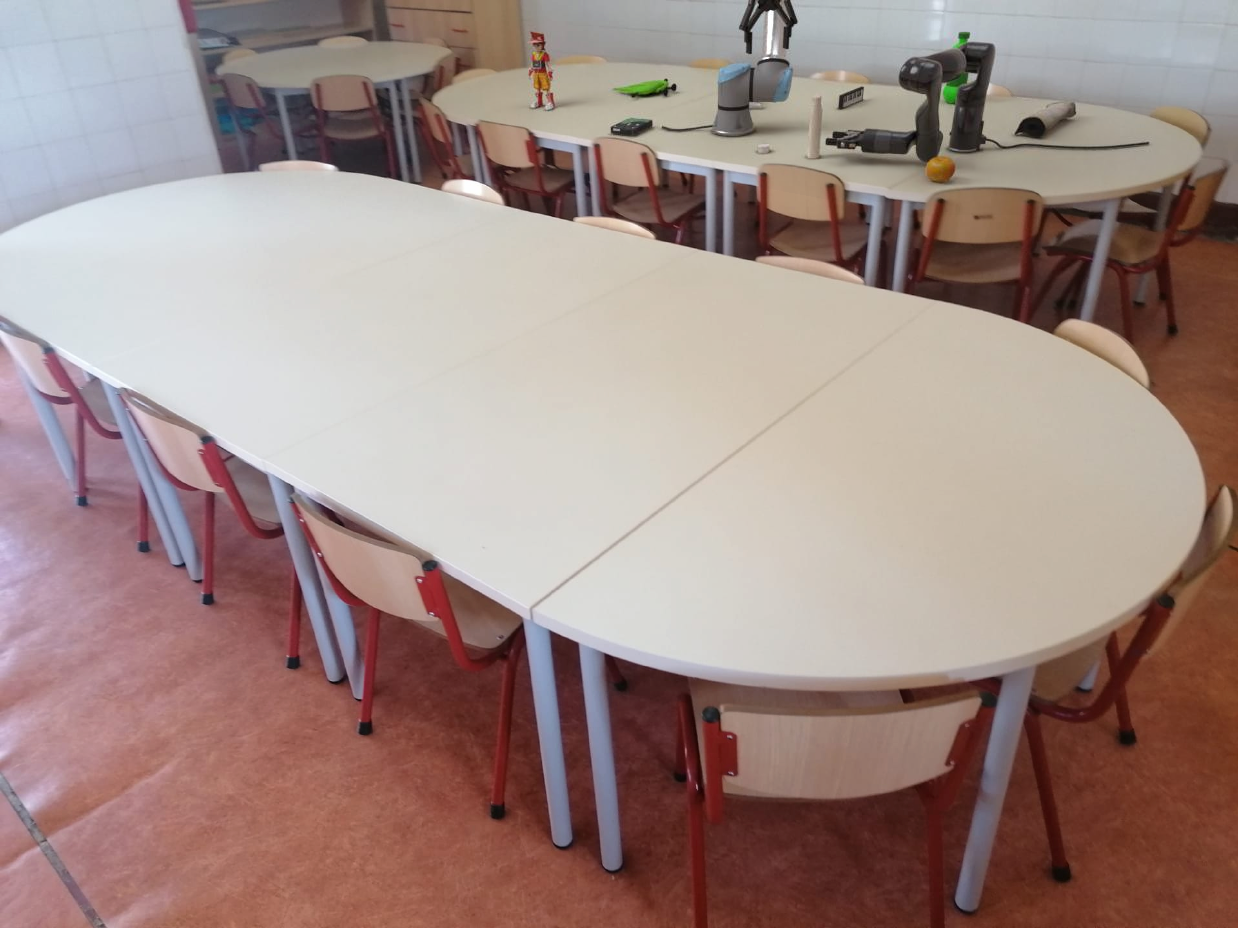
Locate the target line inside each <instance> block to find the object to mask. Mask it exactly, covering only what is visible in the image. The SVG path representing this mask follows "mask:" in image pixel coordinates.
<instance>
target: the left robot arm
mask: <svg viewBox="0 0 1238 928" xmlns="http://www.w3.org/2000/svg"><path fill="white" fill-rule="evenodd" d="M757 4H758V5H757ZM756 5H757V6H756ZM755 6H756V8H755ZM762 14H764V20H763V35H762V36H763V38H762V48H761V49H762V52H761V58H759V60H757V63H756V67H752V65H751V63H750V62H736V63H731V64H728V65H725V66H722V67H721V68H720V69H719V70H718V75H717V111H716V114H715V118H714V120H713V124H710V125H709V124H708V125H700V126H695V127H686V128H671V127H667V126H664V125H662V126H661V129H664V130H668V131H671V132H687V131H694V130H701V129H709V128H712V133H713V134H715V135H717V136H721V137H741V136H746V135H750V134H752V133H754V127H755V123H754V121H753V118H752V115H751V111H750V109H749V102H756V103H784V102H786V101H787V100H788V98H789V96H790V92H791V89H792V84H793V83H792V81H793V75H794V67H792V66H790V64H791V63H790V61H789V59H788V58H787V50H789V49H790V38H792V36H793V35H792V33H793V28H794V26H795V25H797V24H798V23H799V21H798V18H797V15H796V11H795V10H794V7H793V4H792V0H748V2H747V6H746V8H745V11H744V14H743V16H742V18H741V21H740V23H739V27H738V30H740V31H742V32H744V33H743V37H744V38H743V42H744V43H745V45H746V46H745V54H747V55H752V54H753V31H752V30H753V28H754V26H755V25H756V23H757V22H758V20H759V19H760V17H761V16H762Z"/></svg>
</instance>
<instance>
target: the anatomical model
mask: <svg viewBox="0 0 1238 928" xmlns="http://www.w3.org/2000/svg"><path fill="white" fill-rule="evenodd" d="M762 107H763V104H762V103H758V102H749V110H751V109H755V108H762Z"/></svg>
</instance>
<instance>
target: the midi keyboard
mask: <svg viewBox="0 0 1238 928" xmlns="http://www.w3.org/2000/svg"><path fill="white" fill-rule="evenodd" d="M864 91H865V86H862V85H861V86H859V87H857V88H854V89H851V90H849V91H846V92H844V93H842V94H839V96H838V105H837V106H838V107H837V109H839V110H842V109H844V108H846V107H848V106H851V105H852V104H855V103H858V102H859V101H863V100H864Z"/></svg>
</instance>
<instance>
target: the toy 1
mask: <svg viewBox="0 0 1238 928" xmlns="http://www.w3.org/2000/svg"><path fill="white" fill-rule="evenodd" d="M529 33H530V35H531V36H528V37H527V38H528V39H529V40H528V41H527V43H529V44H530V43H531V44H532V48H533V50H534V51H533V52H532V55H531V58H530V59H531V63H530V66H528V74H527V75H528V76H527V77H528V79H529V80H531V75H532V74H533V84H532V85H533V86H532V87H533V88H534V89H535V90H536V92H534V95H535V97H536V100H535V101H533V102H531V105H530V108H531V109H535V108H538V107H542V106H544V101H543V100H544V99H543V95H544V92H546V94H545V97H546V99H547V103H546V104H545V106H544V110H546V111H549V110H553V109H554V107H555V106H556V105H555V99H554V92H551V91H550V90H551V86H552V84H551V82H552V81H553V80H554V77H553V73H554V71H555V70H554V69H552V68H551V63H550V61H551V59H550V58H551V57H550V54H549V53H548V52H547V50H546V48H545V46H546V44H547V41H545V35H544V33H543V32H542V33H539V32H535V31H529Z"/></svg>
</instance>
